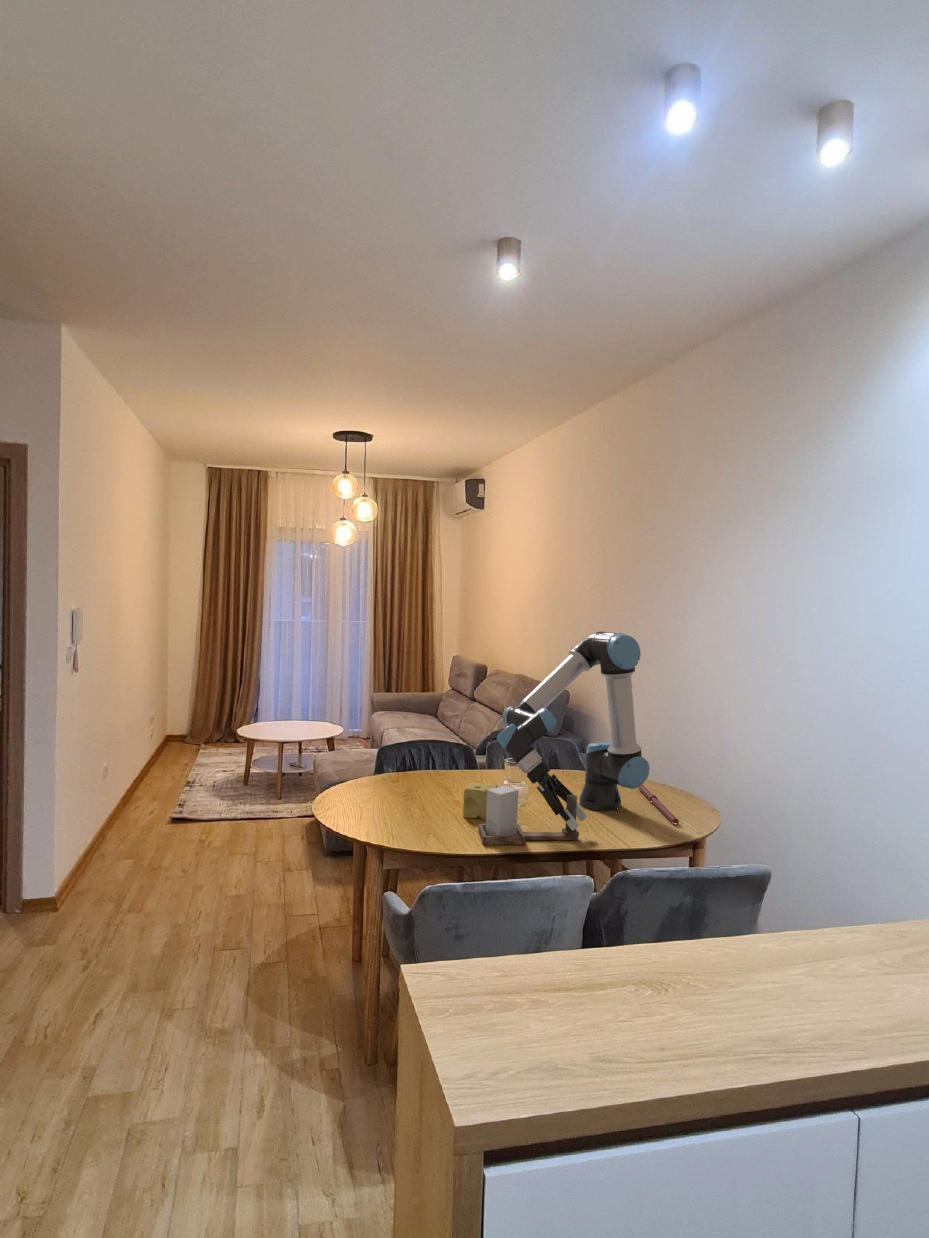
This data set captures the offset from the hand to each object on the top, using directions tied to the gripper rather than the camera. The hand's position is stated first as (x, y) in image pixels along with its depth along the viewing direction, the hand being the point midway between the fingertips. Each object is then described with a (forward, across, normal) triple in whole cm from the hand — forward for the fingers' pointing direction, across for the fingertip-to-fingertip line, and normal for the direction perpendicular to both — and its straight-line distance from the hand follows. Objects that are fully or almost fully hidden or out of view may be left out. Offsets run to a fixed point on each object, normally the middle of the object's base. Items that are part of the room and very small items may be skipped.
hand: (580, 823), depth 243 cm
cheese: (-23, -10, -31) cm, 39 cm away
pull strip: (-7, +6, -14) cm, 17 cm away
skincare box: (-12, +10, -20) cm, 25 cm away
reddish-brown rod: (+15, -52, +7) cm, 55 cm away
